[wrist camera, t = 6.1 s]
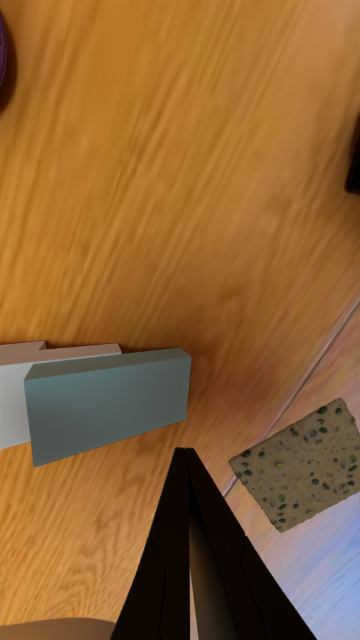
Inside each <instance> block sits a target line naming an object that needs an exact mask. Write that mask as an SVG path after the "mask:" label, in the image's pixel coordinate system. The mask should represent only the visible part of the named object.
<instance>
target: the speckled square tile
mask: <svg viewBox="0 0 360 640" xmlns="http://www.w3.org/2000/svg"><path fill="white" fill-rule="evenodd" d="M229 464H230V466H231V468H232V470H233V471H234V473H235V475H236V477H238V478H239V479H240V480H241V482H242V484H243V485H244V486H245V487H246V489H247V490H248V492H249V493H250V494H251V495H252V496H253V497H254V499H255V500H256V501H257V502H258V503H259V505H260V506H261V509H263V510H264V512H265V514H266V515H267V517H268V518H269V520H270V522H271V524H272V525H274V526H275V528H276V529H277V530H278V531H279V532H281V533H282V532H284V531H285V530H289V529H291V528H293V527H294V526H296V525H297V524H299V523H302V522H304V521H305V520H307V519H310V518H312V517H313V516H315V515H316V514H317V513H320V512H321V511H323V510H325V509H327V508H329V507H331V506H333V505H335V504H337V503H338V502H340V501H342V500H345V499H346V498H348V497H349V496H351V495H353V494H356V493H357V492H359V491H360V434H359V432H358V429H357V427H356V421H355V418H354V417H353V416H351V414H350V412H349V410H348V409H347V406H346V403H345V402H344V401H343V399H342V398H338V399H336V400H333V401H332V402H330V403H329V404H327V405H325V406H323V407H321V408H320V409H318V410H317V411H315V412H313V413H310V414H309V415H307V416H306V417H304V418H303V419H301V420H299V421H297V422H296V423H294V424H291V425H290V426H288V427H286V428H285V429H283V430H282V431H280V432H278V433H276V434H274V435H273V436H271V437H270V438H268V439H266V440H265V441H263V442H261V443H258V444H257V445H255V446H253V447H252V448H250V449H248V450H246V451H244V452H243V453H241V454H239V455H237V456H235V457H233V458H232V459H230V460H229Z"/></svg>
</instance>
